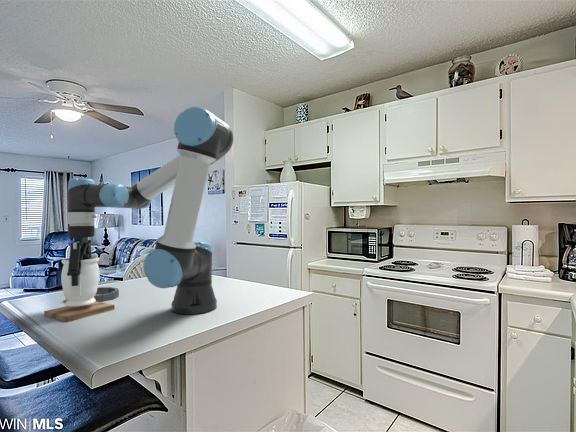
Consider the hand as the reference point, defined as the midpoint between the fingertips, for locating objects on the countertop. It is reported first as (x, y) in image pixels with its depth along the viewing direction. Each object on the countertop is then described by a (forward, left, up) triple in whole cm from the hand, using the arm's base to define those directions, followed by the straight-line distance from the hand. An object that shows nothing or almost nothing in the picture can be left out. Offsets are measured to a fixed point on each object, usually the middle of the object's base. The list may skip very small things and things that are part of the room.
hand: (81, 292), depth 106 cm
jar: (0, 0, -4) cm, 4 cm away
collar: (+15, -14, -7) cm, 22 cm away
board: (0, 0, -7) cm, 7 cm away
